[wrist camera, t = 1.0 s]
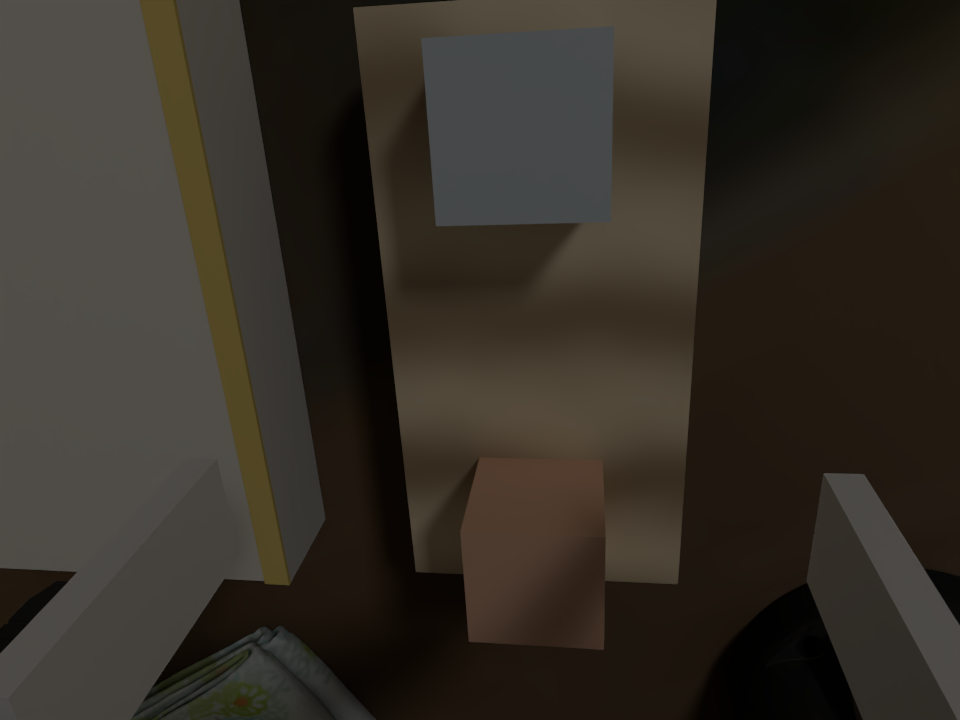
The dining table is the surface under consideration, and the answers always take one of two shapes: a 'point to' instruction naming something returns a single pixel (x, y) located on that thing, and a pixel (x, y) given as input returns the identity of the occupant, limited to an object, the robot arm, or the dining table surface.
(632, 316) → the board
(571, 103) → the grey cube
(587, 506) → the block
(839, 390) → the dining table surface
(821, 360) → the dining table surface
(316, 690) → the towel
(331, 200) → the dining table surface
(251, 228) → the dock
